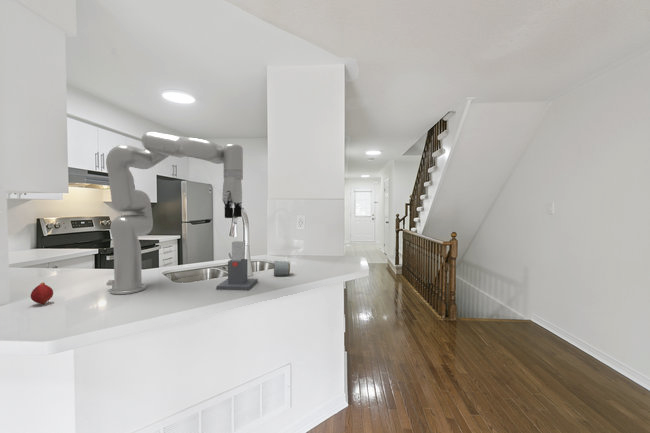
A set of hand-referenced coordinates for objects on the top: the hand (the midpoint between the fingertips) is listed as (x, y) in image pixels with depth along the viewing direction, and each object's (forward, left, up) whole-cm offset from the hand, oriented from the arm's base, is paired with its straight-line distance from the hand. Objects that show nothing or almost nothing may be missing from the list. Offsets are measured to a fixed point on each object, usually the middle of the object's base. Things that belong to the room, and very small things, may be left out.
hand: (233, 217), depth 121 cm
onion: (-63, -19, -31) cm, 73 cm away
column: (-2, +11, -29) cm, 31 cm away
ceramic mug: (+13, +33, -32) cm, 47 cm away
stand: (-2, +11, -31) cm, 33 cm away
